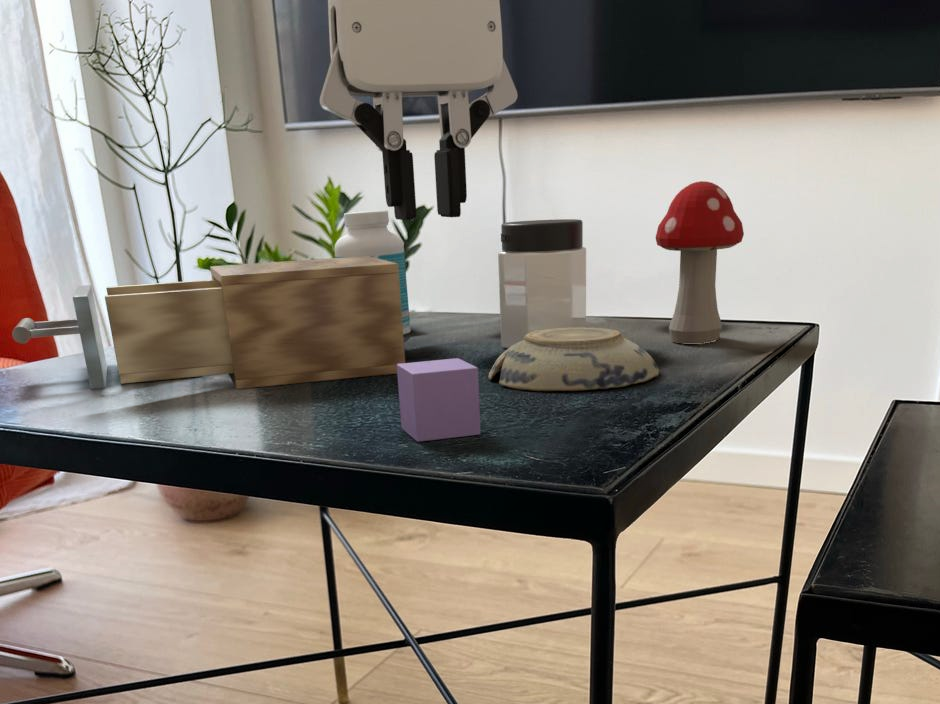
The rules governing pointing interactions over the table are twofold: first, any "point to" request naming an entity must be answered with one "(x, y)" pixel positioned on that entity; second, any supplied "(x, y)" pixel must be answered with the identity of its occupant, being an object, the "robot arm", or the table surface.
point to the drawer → (148, 331)
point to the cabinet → (312, 320)
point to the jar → (541, 277)
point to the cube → (439, 399)
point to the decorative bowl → (574, 361)
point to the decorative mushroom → (698, 256)
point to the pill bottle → (375, 248)
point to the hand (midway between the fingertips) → (427, 215)
